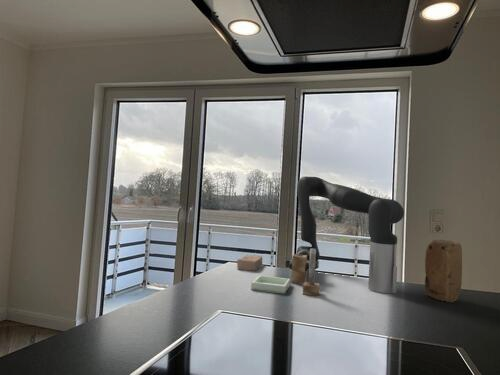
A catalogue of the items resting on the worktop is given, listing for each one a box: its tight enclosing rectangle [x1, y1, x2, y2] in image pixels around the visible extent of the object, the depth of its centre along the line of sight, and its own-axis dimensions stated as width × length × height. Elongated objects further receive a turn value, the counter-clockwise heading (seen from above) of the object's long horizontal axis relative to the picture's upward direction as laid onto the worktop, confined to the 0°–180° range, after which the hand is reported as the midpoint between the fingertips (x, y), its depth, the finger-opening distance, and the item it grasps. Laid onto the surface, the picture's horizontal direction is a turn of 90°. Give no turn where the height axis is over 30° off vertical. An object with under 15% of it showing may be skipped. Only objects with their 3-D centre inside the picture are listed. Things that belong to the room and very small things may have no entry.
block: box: [424, 239, 463, 303], centre depth 123 cm, size 11×8×20 cm
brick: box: [236, 254, 263, 272], centre depth 160 cm, size 17×8×5 cm, turn 167°
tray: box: [250, 275, 291, 295], centre depth 126 cm, size 12×12×2 cm
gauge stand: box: [302, 249, 320, 297], centre depth 122 cm, size 5×5×15 cm
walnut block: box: [290, 253, 307, 285], centre depth 137 cm, size 5×5×10 cm
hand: (298, 267), depth 134 cm, fingers closed on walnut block, 5 cm apart
